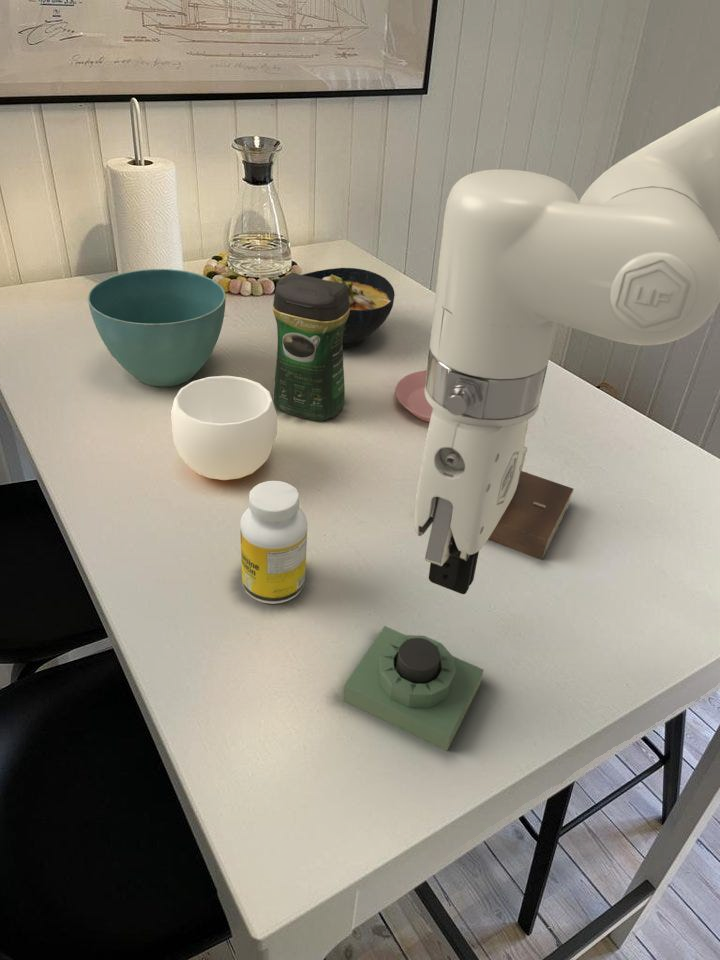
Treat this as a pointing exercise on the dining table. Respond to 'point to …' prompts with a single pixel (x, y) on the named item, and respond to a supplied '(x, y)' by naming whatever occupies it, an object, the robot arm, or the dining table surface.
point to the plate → (414, 395)
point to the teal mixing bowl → (159, 322)
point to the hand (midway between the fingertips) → (450, 581)
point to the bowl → (361, 301)
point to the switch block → (413, 690)
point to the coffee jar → (310, 346)
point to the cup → (224, 426)
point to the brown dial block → (532, 515)
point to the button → (418, 660)
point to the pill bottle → (273, 543)
